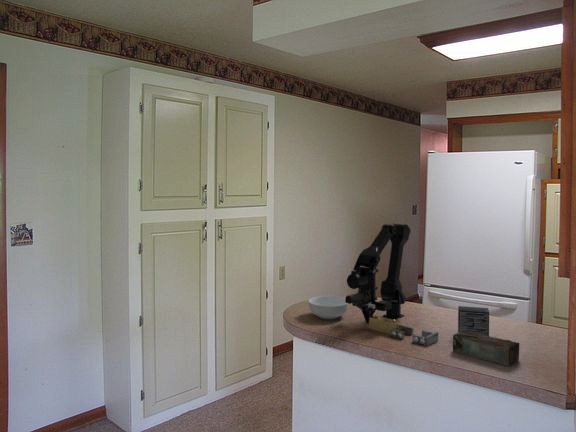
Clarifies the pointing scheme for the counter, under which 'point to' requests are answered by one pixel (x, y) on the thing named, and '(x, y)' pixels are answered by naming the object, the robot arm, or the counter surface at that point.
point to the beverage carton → (486, 347)
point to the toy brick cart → (425, 339)
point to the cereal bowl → (328, 306)
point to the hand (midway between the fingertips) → (367, 323)
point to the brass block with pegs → (384, 324)
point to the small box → (473, 320)
